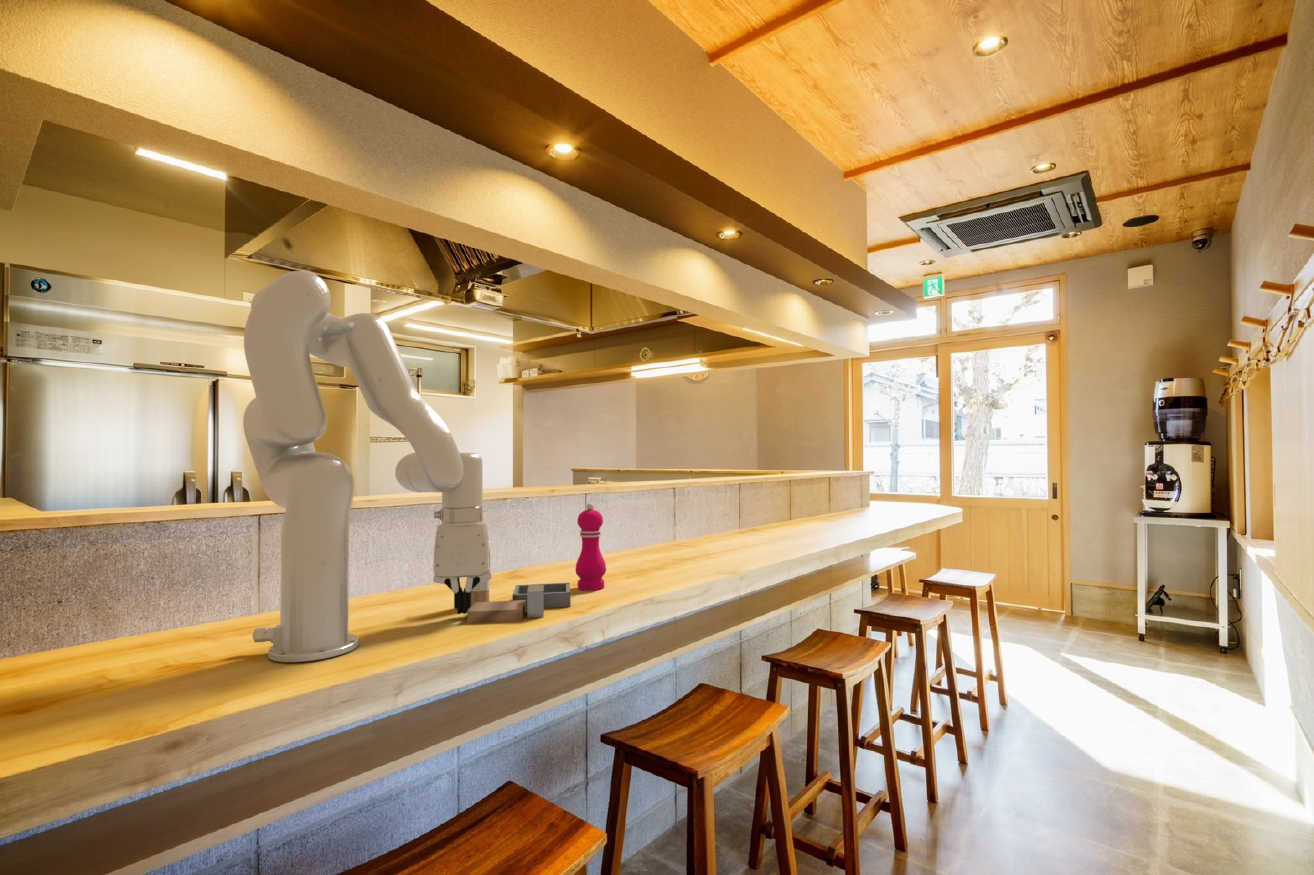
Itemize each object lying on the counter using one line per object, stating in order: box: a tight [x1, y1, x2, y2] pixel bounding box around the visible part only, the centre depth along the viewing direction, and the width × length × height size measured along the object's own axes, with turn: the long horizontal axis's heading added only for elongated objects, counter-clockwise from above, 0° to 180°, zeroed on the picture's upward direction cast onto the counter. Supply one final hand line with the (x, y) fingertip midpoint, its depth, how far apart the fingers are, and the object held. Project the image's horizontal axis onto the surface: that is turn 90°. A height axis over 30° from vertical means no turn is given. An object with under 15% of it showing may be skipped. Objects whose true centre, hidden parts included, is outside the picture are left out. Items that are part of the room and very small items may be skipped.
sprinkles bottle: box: [471, 540, 491, 606], centre depth 128 cm, size 5×5×13 cm
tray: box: [512, 582, 571, 610], centre depth 129 cm, size 12×11×3 cm
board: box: [466, 600, 527, 624], centre depth 118 cm, size 10×8×2 cm
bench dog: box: [526, 584, 545, 619], centre depth 120 cm, size 3×6×5 cm, turn 9°
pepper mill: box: [574, 502, 607, 592], centre depth 144 cm, size 7×7×20 cm
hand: (462, 612), depth 117 cm, fingers closed
